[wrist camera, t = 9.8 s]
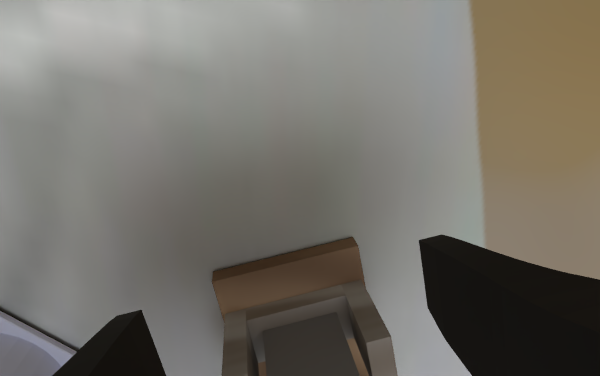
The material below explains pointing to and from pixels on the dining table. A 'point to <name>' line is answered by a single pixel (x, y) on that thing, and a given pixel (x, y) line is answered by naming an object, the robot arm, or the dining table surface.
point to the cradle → (300, 306)
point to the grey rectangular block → (309, 349)
